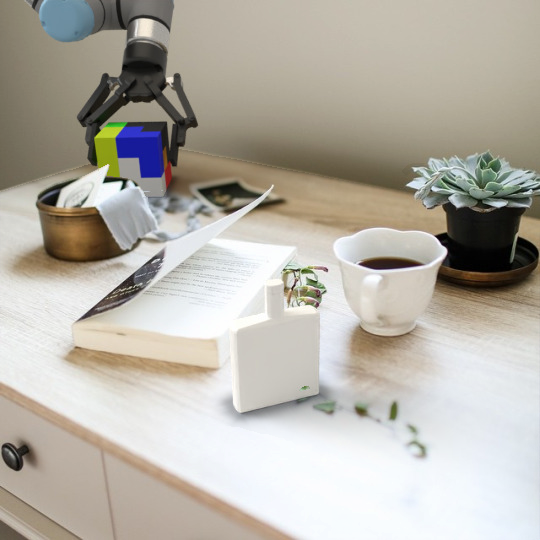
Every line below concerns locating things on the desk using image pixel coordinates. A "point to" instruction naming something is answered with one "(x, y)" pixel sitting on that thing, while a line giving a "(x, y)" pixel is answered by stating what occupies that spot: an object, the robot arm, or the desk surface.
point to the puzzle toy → (136, 154)
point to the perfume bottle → (274, 353)
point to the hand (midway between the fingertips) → (132, 162)
